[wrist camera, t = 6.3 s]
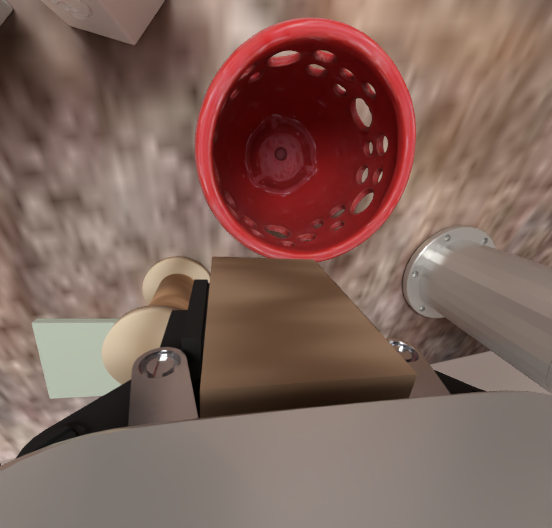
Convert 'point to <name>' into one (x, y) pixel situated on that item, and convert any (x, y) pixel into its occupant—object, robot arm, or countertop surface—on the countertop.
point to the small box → (4, 10)
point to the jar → (108, 16)
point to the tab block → (290, 342)
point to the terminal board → (74, 356)
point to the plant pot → (304, 140)
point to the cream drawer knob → (150, 314)
